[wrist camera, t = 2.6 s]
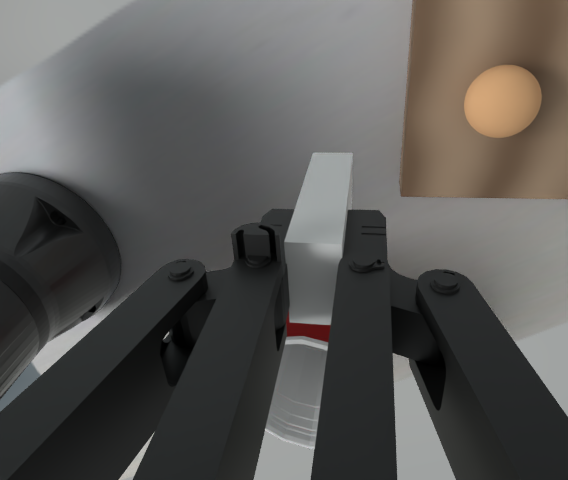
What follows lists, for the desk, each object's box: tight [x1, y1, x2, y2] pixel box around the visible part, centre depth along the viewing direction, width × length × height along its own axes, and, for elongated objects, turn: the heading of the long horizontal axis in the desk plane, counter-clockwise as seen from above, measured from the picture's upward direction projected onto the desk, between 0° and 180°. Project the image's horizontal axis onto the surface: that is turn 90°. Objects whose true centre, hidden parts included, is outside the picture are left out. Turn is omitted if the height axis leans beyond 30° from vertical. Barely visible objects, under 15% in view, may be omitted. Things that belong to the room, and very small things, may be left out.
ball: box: [464, 65, 542, 138], centre depth 26 cm, size 4×4×4 cm
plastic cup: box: [265, 311, 330, 449], centre depth 36 cm, size 11×11×12 cm
